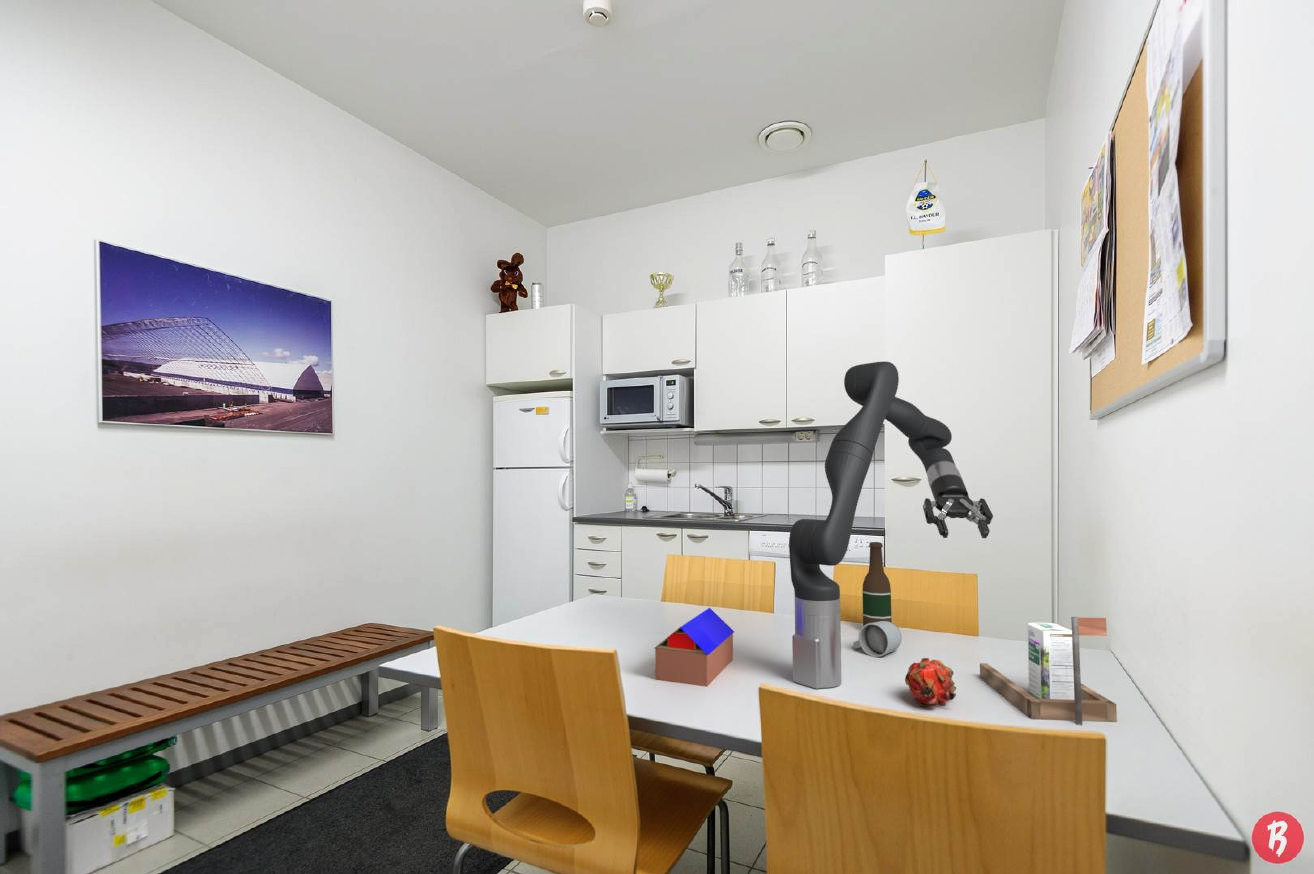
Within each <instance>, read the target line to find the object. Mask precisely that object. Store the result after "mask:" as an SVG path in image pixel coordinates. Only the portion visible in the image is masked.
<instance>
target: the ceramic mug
mask: <svg viewBox="0 0 1314 874" xmlns="http://www.w3.org/2000/svg"><path fill="white" fill-rule="evenodd" d="M902 638H903V637H902V633H901V631H900V629H899V627H898V626H897V625H896V624H894V623H893V622H892V623H891V622H887V621H880V622H874V623H868V624H866V625H864V626H863V625H862V627H861V629H860V630H859V633H858V640H856V641H854V642H852V643H853V647H854V649H855V650H856V649H860V648H861V649H862V650H863V652H865V653H866V654H867V655H868V656H871V657H873V658H880V657H883V656H885V655H888V654H889V653H893V652H894V651H896V650H898V649H899V648H900V646H901V644H902V640H903V639H902Z"/></svg>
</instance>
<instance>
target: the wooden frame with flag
mask: <svg viewBox="0 0 1314 874" xmlns="http://www.w3.org/2000/svg"><path fill="white" fill-rule="evenodd" d="M1070 619H1071V622H1070V623H1071V630H1072V648H1073V674H1074V700H1064V699H1036V698H1034V697H1033V696H1031V695H1030V694H1029V692H1027V691H1026V690H1024V689H1023V688H1022V687H1020V686H1019V685H1018V684H1016V683H1015V682H1013V681H1012V680H1011V679H1009V678H1008V677H1007V676H1005V675H1003V674H1002V673H1001V672H1000V671H998V670H997V669H995V667H993V666H992V665H990V664H989V663H987V662H986V663H984V662H983V663H982V662H979V677H980V679H981V680H983V682H985V684H987V685H989V686H990V687H991V688H992V689H993V690H995V692H998V694H999V695H1001V696H1002V697H1003V698H1005V699H1006V700H1007V701H1009V702H1010V703H1011V704H1012V705H1014V706H1015V707H1016V708H1017V709H1019V710H1020V711H1021V712H1022V713H1023V714H1025V715H1026V716H1028V717H1029V718H1030V719H1031V720H1048V721H1049V720H1052V721H1053V720H1056V721H1075V725H1078V724H1080V725H1079V726H1082V725H1083V722H1084V721H1085V722H1086V721H1087V722H1111V723H1113V722H1114V723H1116V722H1118V717H1117V716H1118V713H1117V703H1116V702H1113V701H1111V700H1110V699H1108V698H1106V697H1105V696H1104V695H1101V694H1100V693H1098V692H1096V691H1095V690H1093V689H1091V688H1090V687H1088V686H1086V685H1085V684H1083V683H1082V682H1081V679H1082V678H1081V676H1082V675H1081V657H1080V653H1081V652H1080V651H1081V650H1080V636H1086V637H1087V636H1088V637H1089V636H1091V637H1093V636H1096V637H1097V636H1098V637H1099V636H1100V637H1107V636H1108V633H1107V617H1081V616H1080V617H1079V616H1071V618H1070Z"/></svg>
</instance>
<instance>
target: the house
mask: <svg viewBox="0 0 1314 874" xmlns="http://www.w3.org/2000/svg"><path fill="white" fill-rule="evenodd" d="M734 633H735V631H734V630H733V629H732V627H731V626H730V625H728V624H727V623H726V622H725V621H724V620H723V619H722V618H721V617H720V615H718V614H717V613H716V612H715V611H714V610H713V609H712V608H711V607H708V608H707V609H705V610H703V611H702V612H701V613H699V614H697V615H696V616H695V617H693V618H692V619H690V620H689V621H687V622H686V623H684V624H683V625H681V626H680V627H678V628H677V629H675V630H674V631H673V633H671V634H670V635H668V636H667V637H666V638H665V639H664V640H662V641H661V642H659V644H657V645H656V646H655V647H654V652H655V654H654V655H655V657H654V658H655V661H654V662H655V663H654V664H655V668H654V671H655V673H654V676H655V681H662V682H669V683H675V684H677V683H678V684H684V685H685V684H686V685H692V686H699V687H708V686H709V685H711V683H712V682H713V681H714V680H715V679H716V678H717V677H718V676H719V675H720V674H721V673H722V672H723V671H724V670H725V669H726V668H727V667H728V666H729V665H730V664H731V663H732V662H733V661H734V644H733V643H734V638H733V637H734Z"/></svg>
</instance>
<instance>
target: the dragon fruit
mask: <svg viewBox="0 0 1314 874" xmlns="http://www.w3.org/2000/svg"><path fill="white" fill-rule="evenodd" d="M953 675H954V670H952V668H951V667H949V666H946V665H944V663H943V661H941V660H940V659H932V660H930V658H928V657H922V658H921V660H920V661H919V662H913V663H911V664H910V666H909V667H908V671H907V673H906V674H905V677H904V682H905V684H906V685H907V686H908V688H909V691H910V693H911V695H912V696H914V698H915V701H916V702H917V704H918V705H919V706H921V707H924V708H925V706H926V707H929V706H930V705H934V706H937V705H938V704H939V705H941V706H944V705H946V704H947V703H948V702H950V701H953V700H954V699H955V698H956V697H957V693H956V690H957V686H955V682H954V680H953Z"/></svg>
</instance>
